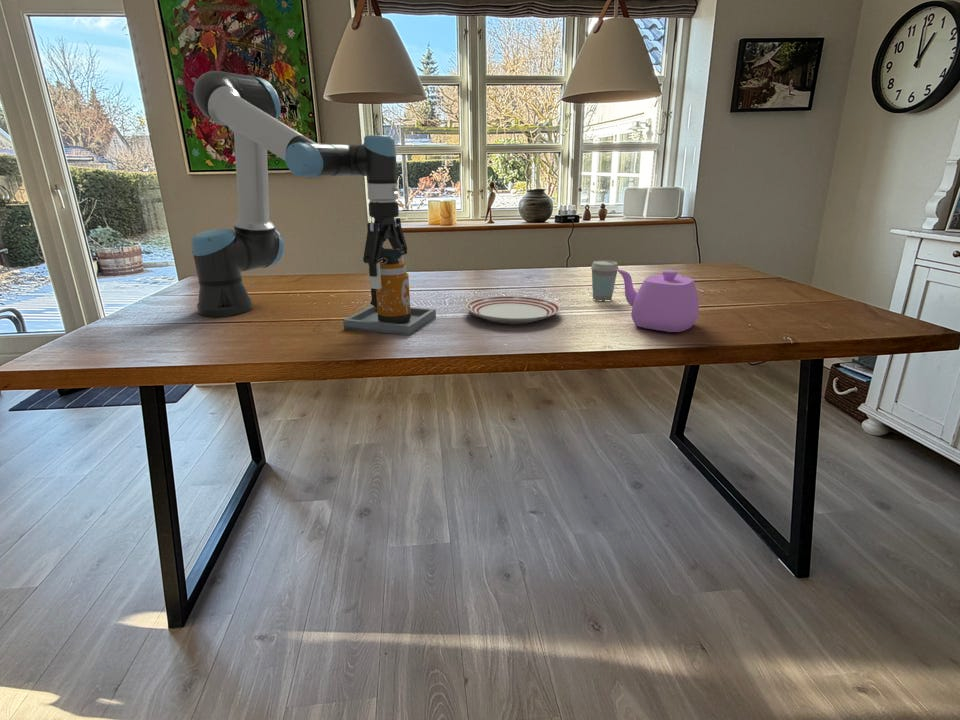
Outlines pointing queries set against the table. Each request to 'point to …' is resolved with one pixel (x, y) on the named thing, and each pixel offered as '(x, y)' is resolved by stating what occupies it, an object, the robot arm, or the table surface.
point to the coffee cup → (603, 279)
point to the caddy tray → (370, 322)
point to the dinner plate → (512, 309)
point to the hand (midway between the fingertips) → (388, 283)
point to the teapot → (663, 301)
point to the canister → (392, 288)
